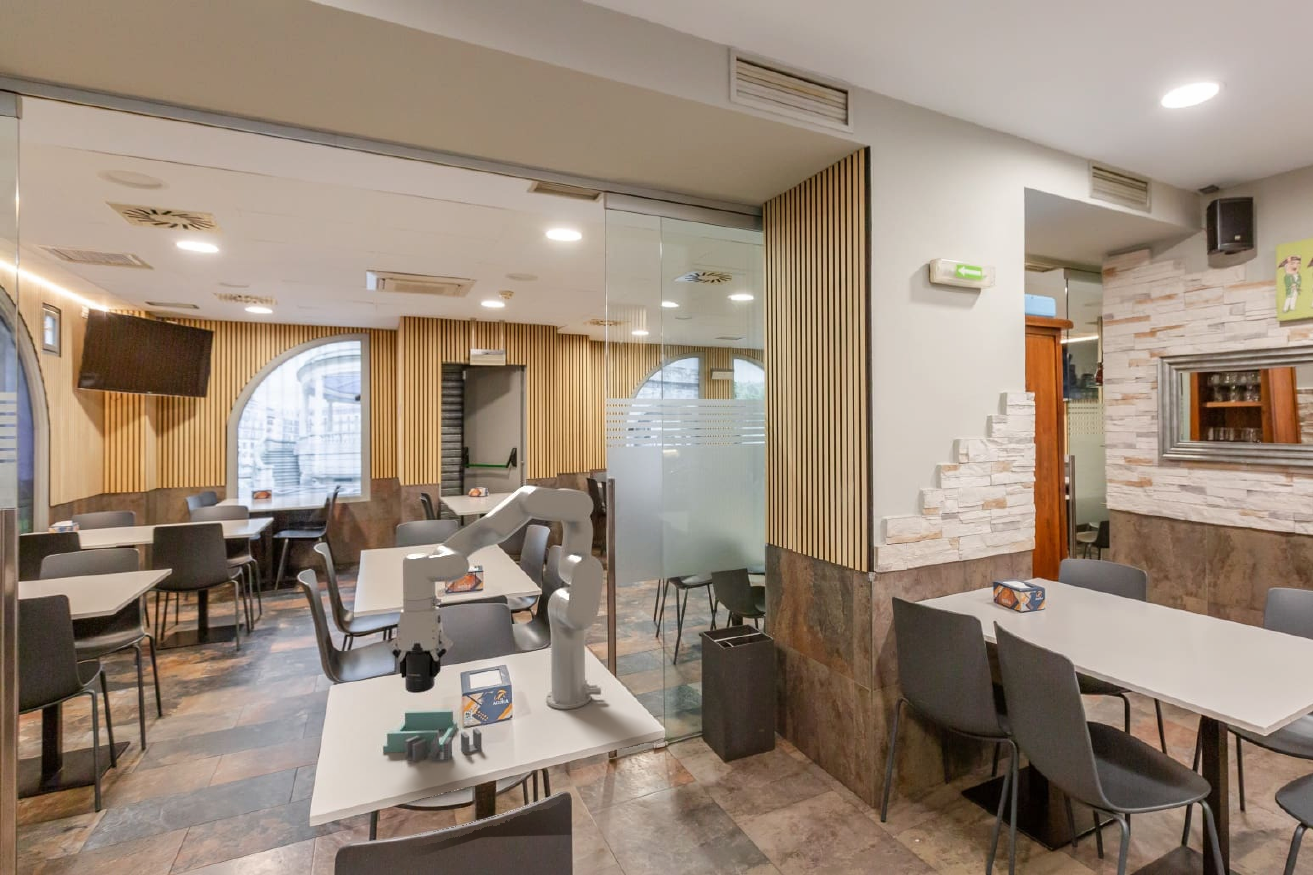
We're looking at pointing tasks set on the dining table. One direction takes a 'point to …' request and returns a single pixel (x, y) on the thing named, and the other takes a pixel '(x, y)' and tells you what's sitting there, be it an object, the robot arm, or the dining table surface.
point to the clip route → (418, 748)
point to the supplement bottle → (418, 670)
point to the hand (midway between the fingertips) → (420, 674)
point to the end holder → (421, 722)
